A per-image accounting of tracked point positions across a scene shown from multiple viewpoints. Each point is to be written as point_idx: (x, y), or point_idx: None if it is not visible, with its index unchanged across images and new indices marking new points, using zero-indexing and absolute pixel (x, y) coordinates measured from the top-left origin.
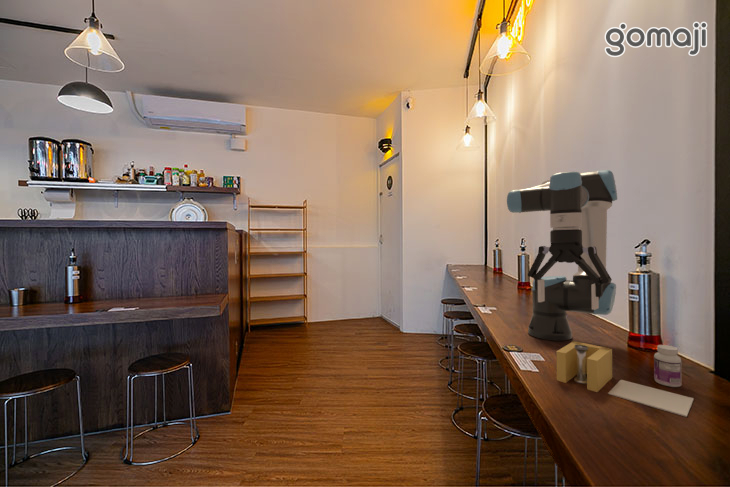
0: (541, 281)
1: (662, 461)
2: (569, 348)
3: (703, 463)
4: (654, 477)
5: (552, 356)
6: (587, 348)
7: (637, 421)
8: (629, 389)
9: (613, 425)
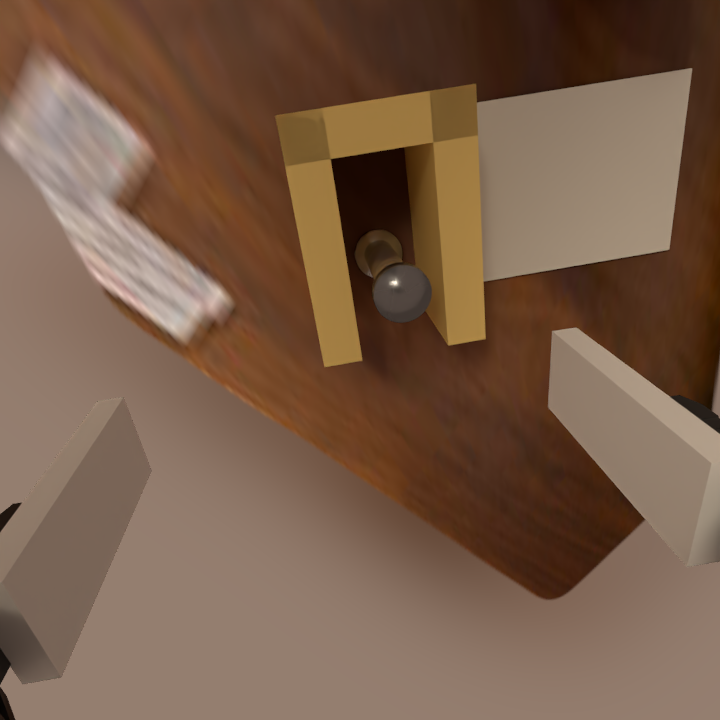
0: (57, 631)
1: None
2: (336, 279)
3: None
4: (621, 535)
5: (122, 41)
6: (431, 291)
7: None
8: (518, 186)
9: (537, 443)
